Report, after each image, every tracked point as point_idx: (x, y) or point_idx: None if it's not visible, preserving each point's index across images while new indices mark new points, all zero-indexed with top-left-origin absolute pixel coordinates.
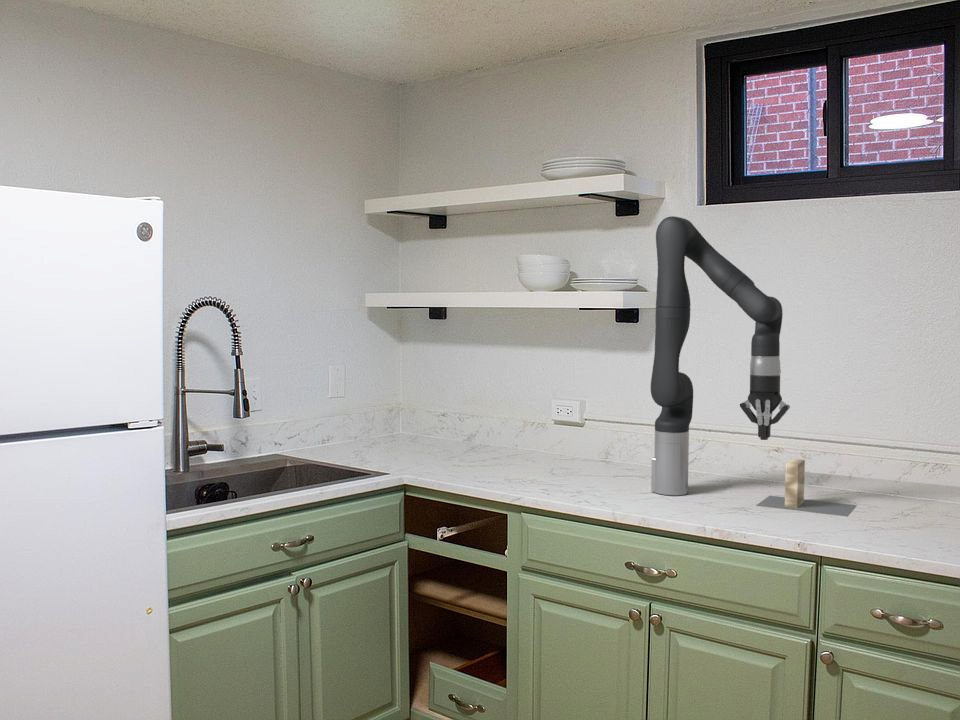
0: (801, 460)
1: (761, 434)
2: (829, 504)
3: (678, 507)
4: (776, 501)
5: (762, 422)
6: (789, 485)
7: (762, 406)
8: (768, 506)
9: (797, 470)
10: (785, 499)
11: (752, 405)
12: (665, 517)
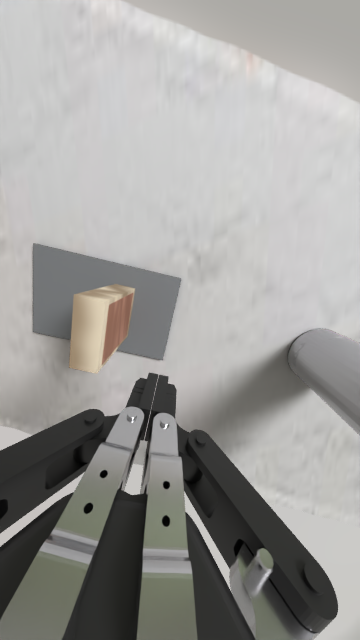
0: (74, 358)
1: (163, 386)
2: (71, 324)
3: (312, 241)
4: (150, 321)
5: (152, 425)
6: (115, 291)
7: (129, 552)
8: (160, 278)
9: (83, 292)
10: (131, 289)
11: (220, 576)
12: (348, 137)
